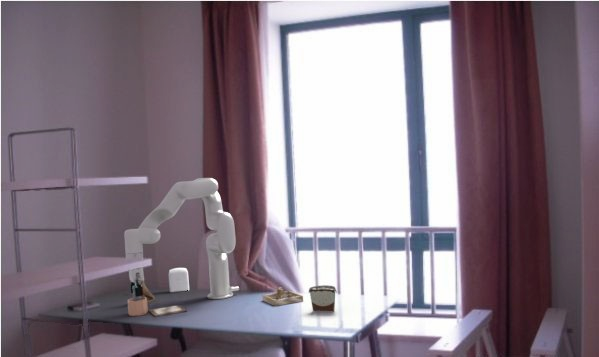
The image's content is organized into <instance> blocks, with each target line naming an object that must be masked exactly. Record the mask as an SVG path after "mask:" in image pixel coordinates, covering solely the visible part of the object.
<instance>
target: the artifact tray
mask: <svg viewBox="0 0 599 357" xmlns="http://www.w3.org/2000/svg"><path fill="white" fill-rule="evenodd" d="M275 296H276V292H274V293H269V294H263V295H262V301H263V302H265V303H268V304H270V305H272V306H274V307H277V306H282V305H290V304H294V303H299V302H304V295H302V294H299V293H297V292H293V291H291V290H286V291H285V290H284V295H283V299H279V300H276V299H275Z"/></svg>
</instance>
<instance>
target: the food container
mask: <svg viewBox="0 0 599 357" xmlns="http://www.w3.org/2000/svg"><path fill="white" fill-rule="evenodd" d="M308 293H309V296H310V302H311V308H312V312H321V313H322V312H324V313H325V312H326V313H328V312H329V313H330V312H331V313H335V310H336V308H335V307H336V294H337V288H336V286H334V285H328V284H327V285H325V284H323V285H315V286H310V287H309V289H308Z"/></svg>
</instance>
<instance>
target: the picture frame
mask: <svg viewBox="0 0 599 357" xmlns="http://www.w3.org/2000/svg"><path fill="white" fill-rule="evenodd" d="M148 312H149V313H150V314H151V315H152V316H153V317H155V318H157V317H162V316H168V315H169V316H170V315H175V314H180V313H186V312H187V310H186V309H185V308H184V307H183V306H181V305H180V304H177V305H176V304H175V305H171V306H163V307H159V308H152V309H148Z"/></svg>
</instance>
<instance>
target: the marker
mask: <svg viewBox="0 0 599 357" xmlns="http://www.w3.org/2000/svg"><path fill="white" fill-rule="evenodd" d="M132 288H133V293H132V298H133V301H139V300H141V296H138V297H136V296H135V288H136V287H135V285H134V286H132Z"/></svg>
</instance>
